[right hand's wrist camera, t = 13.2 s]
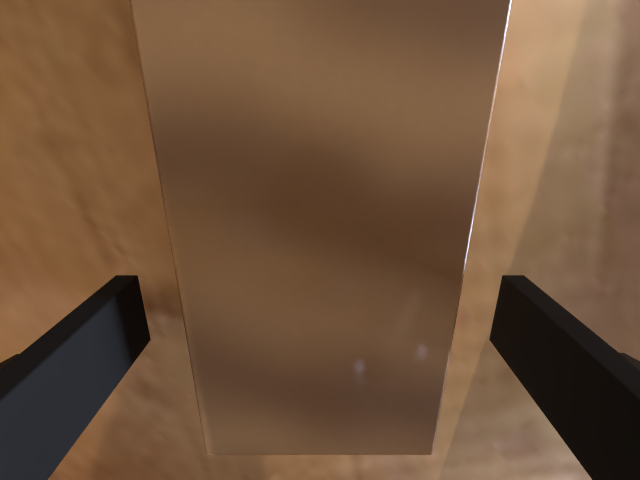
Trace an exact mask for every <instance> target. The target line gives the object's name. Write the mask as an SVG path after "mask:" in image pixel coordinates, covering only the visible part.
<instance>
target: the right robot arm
mask: <svg viewBox="0 0 640 480" xmlns="http://www.w3.org/2000/svg"><path fill="white" fill-rule="evenodd" d="M150 340H151V339H150V334H149V329H148V324H147V320H146V315H145V310H144V305H143V300H142V295H141V290H140V285H139V280H138V276H137V275H116V276H115V277H114V278H112V279H111V280H110V281H109V282H108V283H106V284H105V285H104V286H103V287H101V288H100V289H99V290H98V291H97V292H95V293H94V294H93V295H92V296H90V297H89V298H88V299H87V300H86V301H84V302H83V303H82V304H81V305H79V306H78V307H77V308H76V309H74V310H73V311H72V312H71V313H70V314H68V315H67V316H66V317H65V318H63V319H62V320H61V321H60V322H59V323H57V324H56V325H55V326H54V327H52V328H51V329H50V330H49V331H48V332H46V333H45V334H44V335H43V336H41V337H40V338H39V339H38V340H36V341H35V342H34V343H33V344H32V345H30V346H29V347H28V348H27V349H25V350H24V351H23V352H22V353H21V354H16V355H14V356H12V357H11V358H9V359H7V360H5V361H3V362H1V363H0V480H48V478H49V477H50V476H51V474H52V473H53V472H54V470H55V469H56V468H57V466H58V465H59V463H60V462H61V461H62V459H63V458H64V457H65V455H66V454H67V453H68V451H69V450H70V448H71V447H72V446H73V444H74V443H75V442H76V440H77V439H78V438H79V436H80V435H81V434H82V432H83V431H84V429H85V428H86V427H87V425H88V424H89V423H90V421H91V420H92V419H93V417H94V416H95V414H96V413H97V412H98V410H99V409H100V408H101V406H102V405H103V404H104V402H105V401H106V400H107V398H108V397H109V395H110V394H111V393H112V391H113V390H114V389H115V387H116V386H117V385H118V383H119V382H120V380H121V379H122V378H123V376H124V375H125V374H126V372H127V371H128V370H129V368H130V367H131V366H132V364H133V363H134V361H135V360H136V359H137V357H138V356H139V355H140V353H141V352H142V351H143V349H144V348H145V347H146V345H147V344H148V342H149V341H150ZM489 340H490V341H491V342H492V344H493V345H494V347H495V348H496V349H497V351H498V352H499V353H500V355H501V356H502V357H503V359H504V360H505V361H506V363H507V364H508V366H509V367H510V368H511V370H512V371H513V372H514V374H515V375H516V376H517V378H518V379H519V380H520V382H521V383H522V385H523V386H524V387H525V389H526V390H527V391H528V393H529V394H530V395H531V397H532V398H533V400H534V401H535V402H536V404H537V405H538V406H539V408H540V409H541V410H542V412H543V413H544V414H545V416H546V417H547V419H548V420H549V421H550V423H551V424H552V425H553V427H554V428H555V429H556V431H557V432H558V434H559V435H560V436H561V438H562V439H563V440H564V442H565V443H566V444H567V446H568V447H569V448H570V450H571V451H572V453H573V454H574V455H575V457H576V458H577V459H578V461H579V462H580V463H581V465H582V466H583V468H584V469H585V470H586V472H587V473H588V474H589V476H590V477H591V478H592V480H640V361H638V360H636V359H634V358H632V357H630V356H628V355H627V354H625V353H618V352H617V351H616V350H615V349H613V348H612V347H611V346H610V345H608V344H607V343H606V342H605V341H604V340H602V339H601V338H600V337H599V336H597V335H596V334H595V333H594V332H592V331H591V330H590V329H589V328H588V327H586V326H585V325H584V324H583V323H581V322H580V321H579V320H578V319H577V318H575V317H574V316H573V315H572V314H570V313H569V312H568V311H567V310H566V309H564V308H563V307H562V306H561V305H559V304H558V303H557V302H556V301H554V300H553V299H552V298H551V297H550V296H548V295H547V294H546V293H545V292H543V291H542V290H541V289H540V288H539V287H537V286H536V285H535V284H534V283H532V282H531V281H530V280H529V279H528V278H526V277H525V276H524V275H503V276H502V280H501V285H500V290H499V295H498V300H497V305H496V310H495V315H494V320H493V324H492V329H491V334H490V339H489Z"/></svg>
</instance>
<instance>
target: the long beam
mask: <svg viewBox="0 0 640 480" xmlns="http://www.w3.org/2000/svg"><path fill="white" fill-rule="evenodd" d="M129 1H130V7H131V13H132V19H133V25H134V31H135V37H136V43H137V48H138V54H139V60H140V66H141V72H142V78H143V84H144V90H145V96H146V101H147V107H148V113H149V119H150V125H151V131H152V137H153V143H154V149H155V155H156V160H157V166H158V172H159V178H160V184H161V190H162V196H163V202H164V208H165V213H166V219H167V225H168V231H169V237H170V243H171V249H172V255H173V261H174V266H175V272H176V278H177V284H178V290H179V296H180V302H181V308H182V314H183V319H184V325H185V331H186V337H187V343H188V349H189V355H190V361H191V367H192V373H193V378H194V384H195V390H196V396H197V402H198V408H199V414H200V420H201V426H202V431H203V437H204V443H205V449H206V454H208V455H431V454H432V453H433V448H434V442H435V436H436V430H437V425H438V419H439V413H440V408H441V402H442V396H443V390H444V385H445V379H446V373H447V368H448V362H449V356H450V351H451V345H452V339H453V333H454V328H455V322H456V316H457V311H458V305H459V299H460V294H461V288H462V282H463V276H464V271H465V265H466V259H467V254H468V248H469V242H470V237H471V231H472V225H473V219H474V214H475V208H476V202H477V197H478V191H479V185H480V179H481V174H482V168H483V162H484V157H485V151H486V145H487V140H488V134H489V128H490V122H491V117H492V111H493V105H494V100H495V94H496V88H497V83H498V77H499V71H500V65H501V60H502V54H503V48H504V43H505V37H506V31H507V26H508V20H509V14H510V8H511V3H512V0H129Z"/></svg>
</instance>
